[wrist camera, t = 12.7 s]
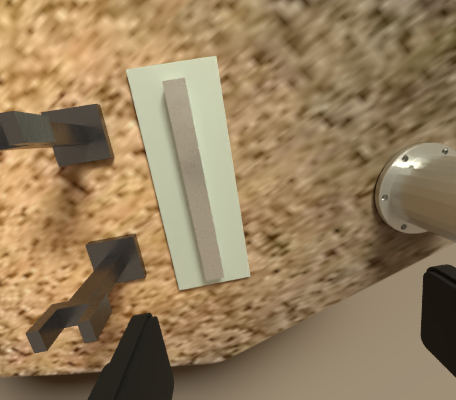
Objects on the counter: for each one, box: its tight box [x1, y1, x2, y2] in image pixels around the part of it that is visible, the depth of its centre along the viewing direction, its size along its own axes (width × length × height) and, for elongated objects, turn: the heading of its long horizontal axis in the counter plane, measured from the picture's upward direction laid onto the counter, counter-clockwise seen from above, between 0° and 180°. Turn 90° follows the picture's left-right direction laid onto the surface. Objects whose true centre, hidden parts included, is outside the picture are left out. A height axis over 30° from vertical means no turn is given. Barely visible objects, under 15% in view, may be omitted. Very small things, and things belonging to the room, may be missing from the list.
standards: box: [0, 104, 146, 353], centre depth 24 cm, size 6×22×14 cm, turn 9°
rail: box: [162, 77, 224, 281], centre depth 30 cm, size 2×24×2 cm, turn 10°
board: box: [126, 56, 250, 290], centre depth 31 cm, size 10×28×1 cm, turn 9°
